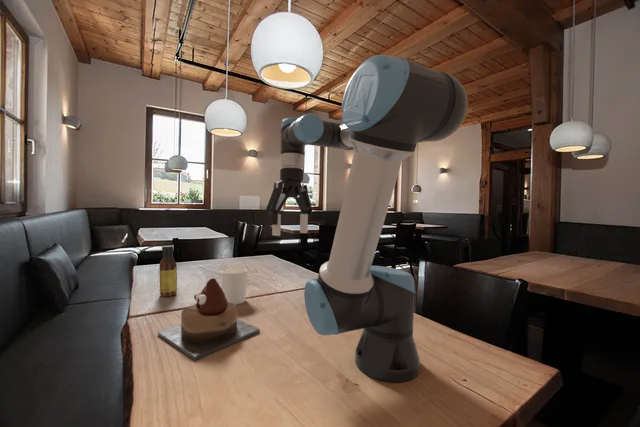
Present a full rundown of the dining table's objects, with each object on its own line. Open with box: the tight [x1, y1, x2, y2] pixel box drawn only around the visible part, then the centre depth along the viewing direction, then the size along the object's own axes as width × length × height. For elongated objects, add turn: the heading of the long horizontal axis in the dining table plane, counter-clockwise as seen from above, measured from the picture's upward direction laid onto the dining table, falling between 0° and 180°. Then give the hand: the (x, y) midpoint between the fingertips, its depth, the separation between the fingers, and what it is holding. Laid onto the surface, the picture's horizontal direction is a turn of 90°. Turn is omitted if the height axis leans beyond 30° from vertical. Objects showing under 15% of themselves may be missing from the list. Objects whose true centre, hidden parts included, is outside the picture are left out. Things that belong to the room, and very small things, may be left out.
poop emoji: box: [193, 277, 228, 315], centre depth 82 cm, size 10×8×9 cm
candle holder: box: [220, 267, 249, 306], centre depth 109 cm, size 10×10×12 cm
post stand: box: [157, 302, 261, 361], centre depth 82 cm, size 20×20×7 cm
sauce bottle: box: [158, 245, 178, 298], centre depth 115 cm, size 7×6×20 cm
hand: (290, 234), depth 92 cm, fingers open, 13 cm apart
